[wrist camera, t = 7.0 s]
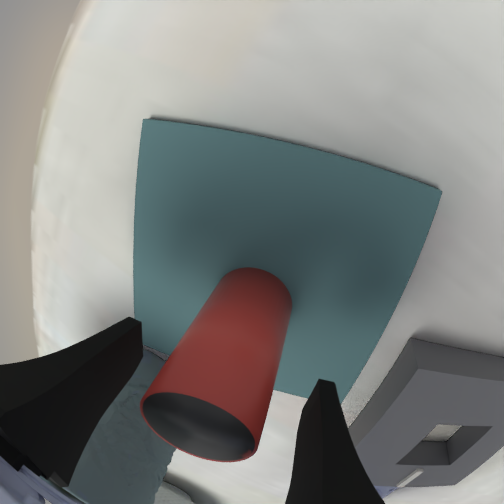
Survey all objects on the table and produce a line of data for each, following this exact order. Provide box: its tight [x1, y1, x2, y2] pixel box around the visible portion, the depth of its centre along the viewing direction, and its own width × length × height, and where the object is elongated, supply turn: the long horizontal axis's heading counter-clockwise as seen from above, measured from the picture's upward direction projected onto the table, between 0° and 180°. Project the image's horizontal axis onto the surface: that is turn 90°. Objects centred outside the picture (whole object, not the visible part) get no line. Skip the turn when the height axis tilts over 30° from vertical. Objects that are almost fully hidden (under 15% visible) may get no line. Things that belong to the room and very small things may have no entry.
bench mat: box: [133, 119, 442, 404], centre depth 15 cm, size 14×14×1 cm
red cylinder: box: [140, 267, 292, 462], centre depth 12 cm, size 4×4×8 cm
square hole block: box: [348, 338, 504, 487], centre depth 16 cm, size 14×14×3 cm
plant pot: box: [40, 349, 176, 504], centre depth 17 cm, size 10×10×12 cm
